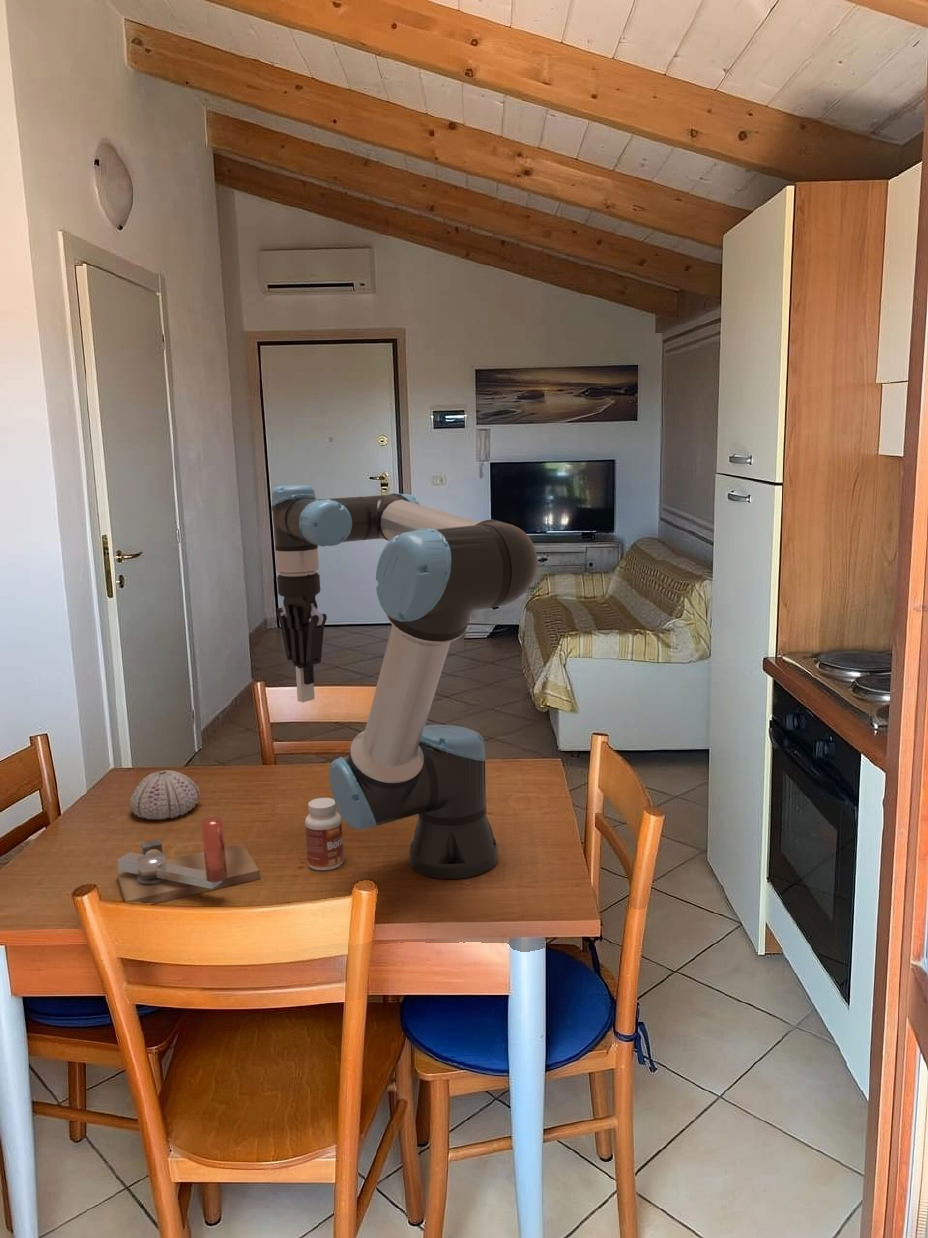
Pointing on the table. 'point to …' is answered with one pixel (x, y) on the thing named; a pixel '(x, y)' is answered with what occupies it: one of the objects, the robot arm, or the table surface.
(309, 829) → the pill bottle
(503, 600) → the robot arm
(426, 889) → the table surface
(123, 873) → the cracker base
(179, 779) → the sea urchin shell
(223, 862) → the lever
